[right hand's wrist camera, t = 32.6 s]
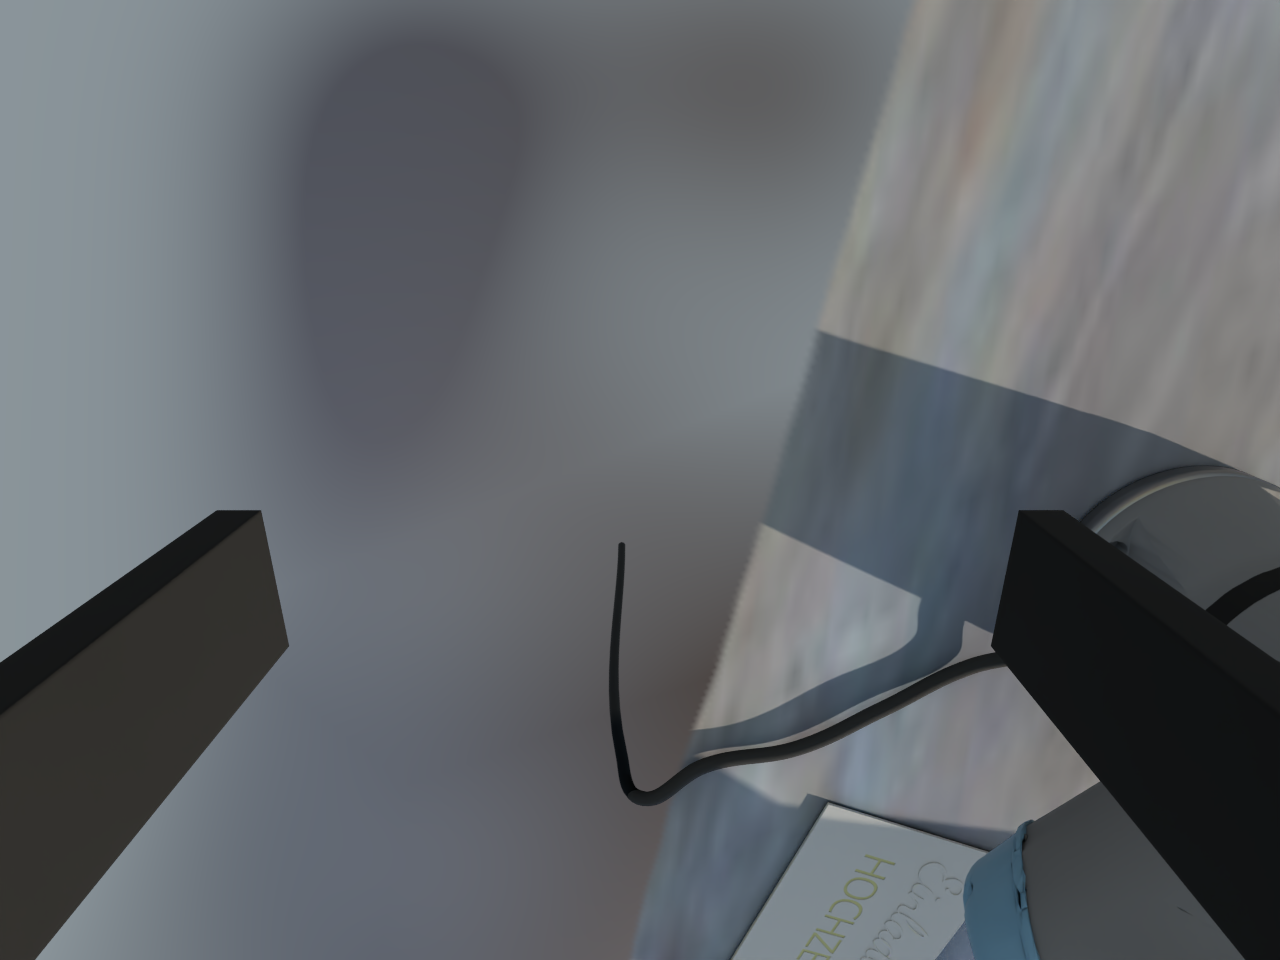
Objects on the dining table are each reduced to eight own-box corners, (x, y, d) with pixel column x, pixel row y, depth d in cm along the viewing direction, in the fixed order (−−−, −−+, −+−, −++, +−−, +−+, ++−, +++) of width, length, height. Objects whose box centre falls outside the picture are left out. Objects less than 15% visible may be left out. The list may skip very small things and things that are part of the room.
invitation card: (828, 805, 50) (1011, 861, 52) (827, 802, 50) (1009, 858, 52) (711, 994, 57) (876, 1037, 59) (711, 990, 58) (875, 1034, 59)
